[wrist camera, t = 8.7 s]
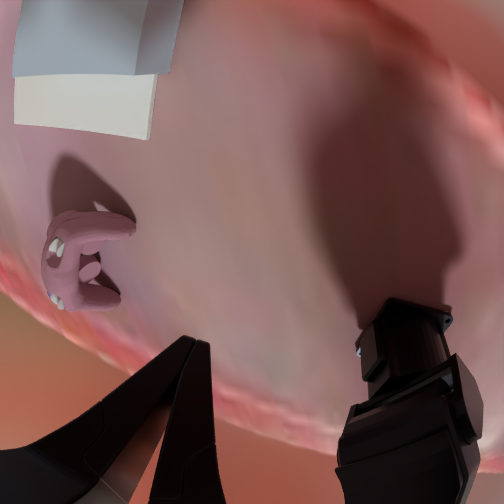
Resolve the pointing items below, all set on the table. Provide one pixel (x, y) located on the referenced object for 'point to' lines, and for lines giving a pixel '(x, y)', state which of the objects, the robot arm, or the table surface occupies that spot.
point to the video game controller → (81, 258)
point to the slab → (96, 37)
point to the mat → (87, 102)
